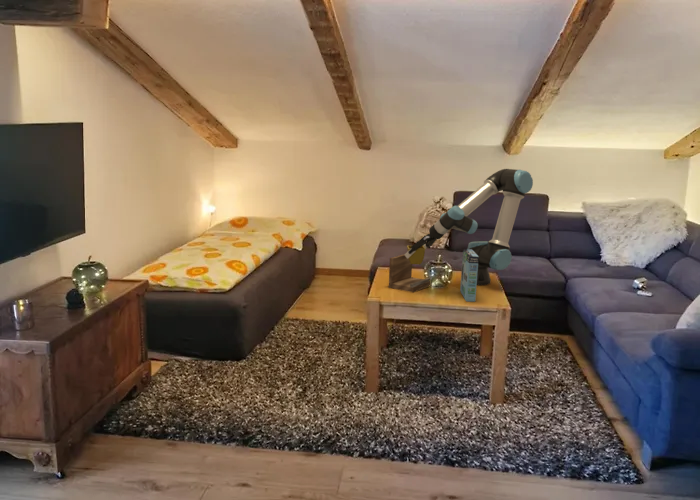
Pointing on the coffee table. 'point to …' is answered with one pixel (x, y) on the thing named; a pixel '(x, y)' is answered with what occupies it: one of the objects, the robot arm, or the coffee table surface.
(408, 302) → the coffee table surface
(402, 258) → the wooden shelf
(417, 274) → the coffee table surface
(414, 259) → the flower pot
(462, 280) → the blue cardboard box
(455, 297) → the coffee table surface
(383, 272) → the coffee table surface
